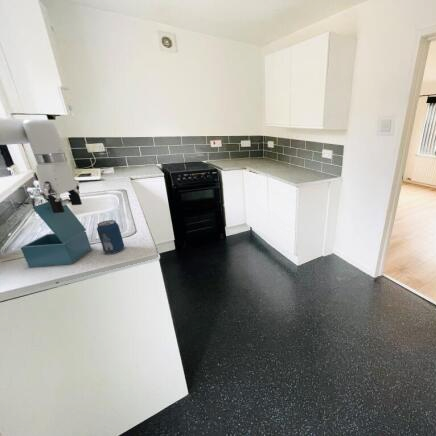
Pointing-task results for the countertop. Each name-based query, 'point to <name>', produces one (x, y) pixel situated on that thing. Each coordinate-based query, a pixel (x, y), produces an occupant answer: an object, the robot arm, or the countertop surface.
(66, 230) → the freezer lid
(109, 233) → the soda can
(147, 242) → the countertop surface
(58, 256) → the box
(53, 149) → the robot arm
